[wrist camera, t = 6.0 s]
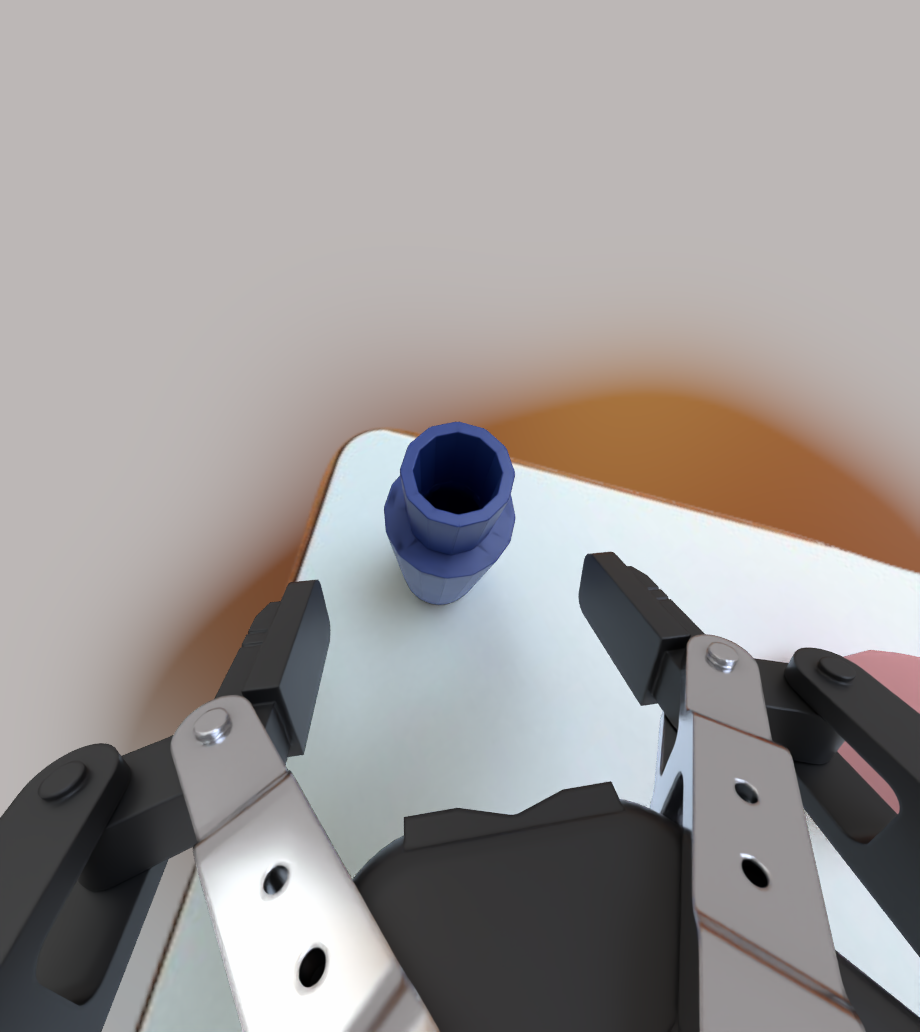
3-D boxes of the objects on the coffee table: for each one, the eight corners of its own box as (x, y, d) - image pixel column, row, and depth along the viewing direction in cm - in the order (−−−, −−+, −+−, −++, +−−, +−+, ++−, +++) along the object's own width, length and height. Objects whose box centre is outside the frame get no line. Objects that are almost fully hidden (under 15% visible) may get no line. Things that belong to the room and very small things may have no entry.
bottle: (394, 594, 20) (344, 529, 8) (415, 526, 21) (400, 379, 9) (465, 613, 20) (525, 578, 8) (482, 544, 21) (556, 422, 9)
